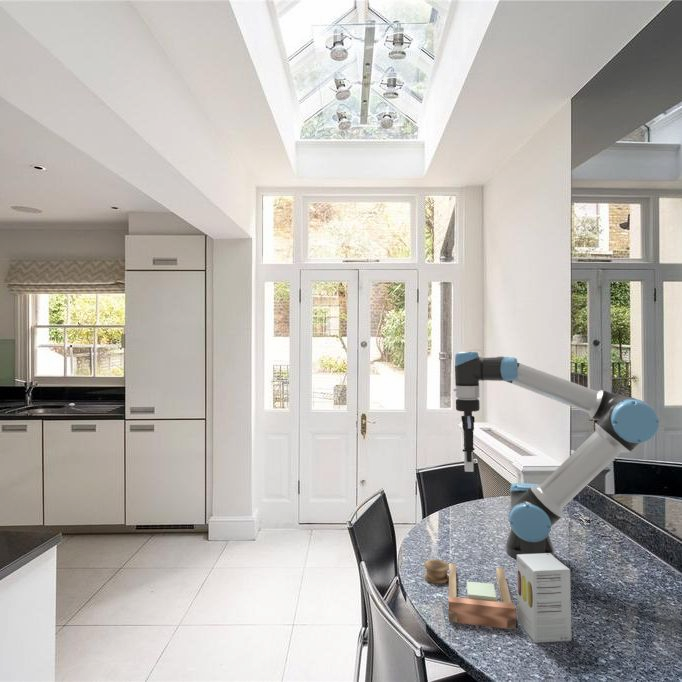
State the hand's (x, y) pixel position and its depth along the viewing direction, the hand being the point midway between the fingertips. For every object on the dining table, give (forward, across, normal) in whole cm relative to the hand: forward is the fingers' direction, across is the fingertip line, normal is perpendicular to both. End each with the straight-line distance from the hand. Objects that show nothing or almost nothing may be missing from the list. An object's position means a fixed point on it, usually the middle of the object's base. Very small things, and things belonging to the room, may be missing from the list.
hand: (469, 471), depth 153 cm
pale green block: (+29, +30, 0) cm, 42 cm away
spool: (+29, +13, -11) cm, 34 cm away
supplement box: (+30, +36, +14) cm, 49 cm away
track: (+29, +22, 0) cm, 37 cm away
